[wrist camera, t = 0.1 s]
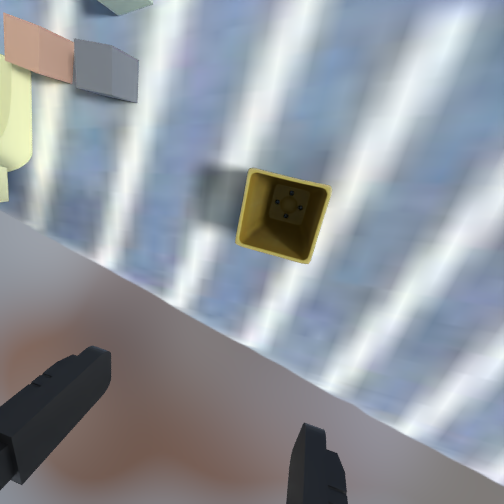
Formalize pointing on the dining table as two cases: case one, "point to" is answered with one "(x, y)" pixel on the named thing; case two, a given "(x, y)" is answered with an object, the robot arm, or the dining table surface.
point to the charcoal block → (106, 70)
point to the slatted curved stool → (14, 121)
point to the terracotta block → (38, 49)
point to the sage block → (125, 5)
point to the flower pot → (281, 215)
